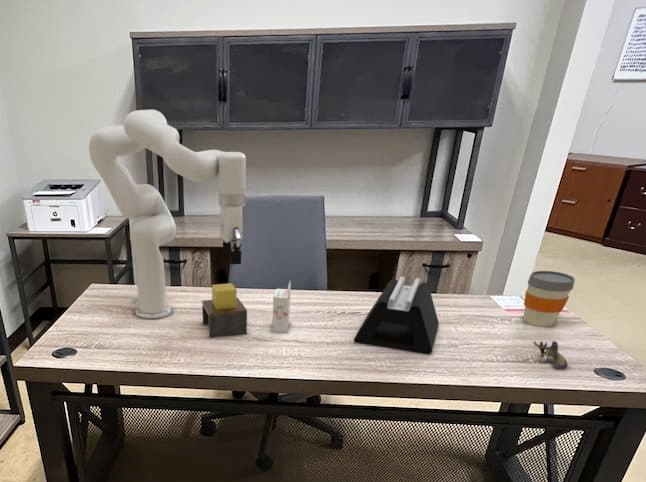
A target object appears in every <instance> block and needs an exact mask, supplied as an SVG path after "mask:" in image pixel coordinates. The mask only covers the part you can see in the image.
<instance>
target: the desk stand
mask: <svg viewBox="0 0 646 482" xmlns="http://www.w3.org/2000/svg"><path fill="white" fill-rule="evenodd" d="M201 306H202V307H201V309H202V312H201V314H202V325H208V337H209V338H210V339H211V338H220V337H230V336H232V337H233V336H239V335H240V336H241V335H247V334H248V333H247V332H248V309H247V308H246V307H245V306H244V304H243V303H242V301H241V300H240V298H239V297H237V298H236V308H230V309H219V310H216V308H215V307H214V305H213V303H212V299H207V300H206V299H205V300H202V301H201Z"/></svg>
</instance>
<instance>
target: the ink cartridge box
mask: <svg viewBox="0 0 646 482" xmlns="http://www.w3.org/2000/svg"><path fill="white" fill-rule="evenodd" d="M291 281H292V280H289V282H288V286H287V288H275V291H274V293H273V297H272V327H271V329H272V330H271V331H272V333H288V329H289V323H290V322H289V321H290V311H291V310H290V309H291V308H290V307H291V295H292V293H291V291H292V286H291V285H292V282H291Z"/></svg>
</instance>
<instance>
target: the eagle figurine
mask: <svg viewBox="0 0 646 482" xmlns="http://www.w3.org/2000/svg"><path fill="white" fill-rule="evenodd" d="M533 345H534V346H535V347H537V348H538V350H539V351H540V355H541V357H543V358H542V360H541V363H544V362H547V360H548V359H549V358H553V360H554V365H555V368H557V369H559V370H565V369H566V368H568V362H567V360H566V358H565V357H564V356H563V355H562V354H561V353H560V352H558V351H559V343H558V342H557V341H556V340H554V339H552V340H551V345H550V346H548V342H547V341H545V343H544V341H540V342H539V344H538V342H536V341H535V340H534V341H533Z"/></svg>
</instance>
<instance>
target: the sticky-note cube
mask: <svg viewBox="0 0 646 482" xmlns="http://www.w3.org/2000/svg"><path fill="white" fill-rule="evenodd" d="M237 294H238V293H237V288H236V287H235V286H234V285H233V283H232V282H229V283H220V284H219V283H217V284H211V300H212V303H213V305H214V307H215V308H216V310H219V309H230V308H236V298H238V297H237Z"/></svg>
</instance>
